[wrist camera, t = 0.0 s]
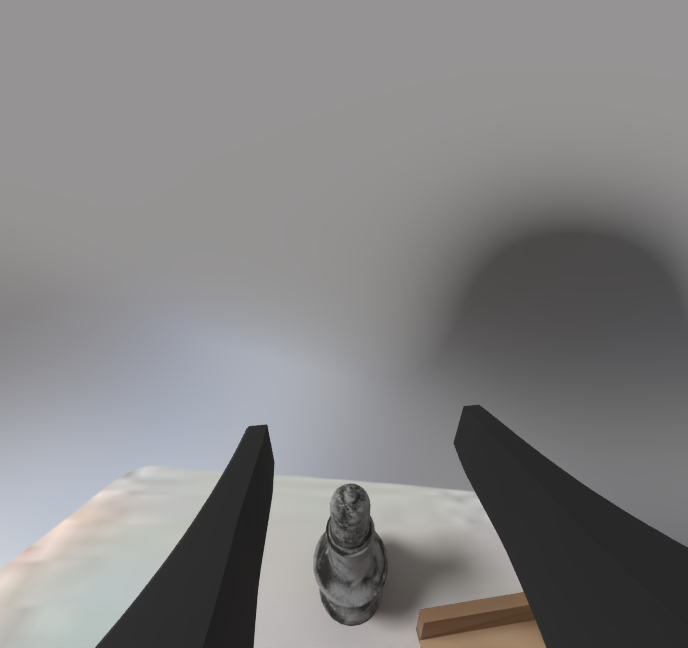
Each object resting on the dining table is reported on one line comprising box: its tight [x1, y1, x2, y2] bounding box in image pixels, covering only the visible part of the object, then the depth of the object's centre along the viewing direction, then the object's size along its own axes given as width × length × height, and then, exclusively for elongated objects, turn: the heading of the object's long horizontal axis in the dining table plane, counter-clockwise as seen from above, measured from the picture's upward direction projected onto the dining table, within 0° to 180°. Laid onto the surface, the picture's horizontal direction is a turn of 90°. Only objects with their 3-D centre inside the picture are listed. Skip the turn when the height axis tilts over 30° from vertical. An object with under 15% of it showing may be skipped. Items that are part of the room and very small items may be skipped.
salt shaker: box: [314, 484, 388, 626], centre depth 22 cm, size 6×6×12 cm
